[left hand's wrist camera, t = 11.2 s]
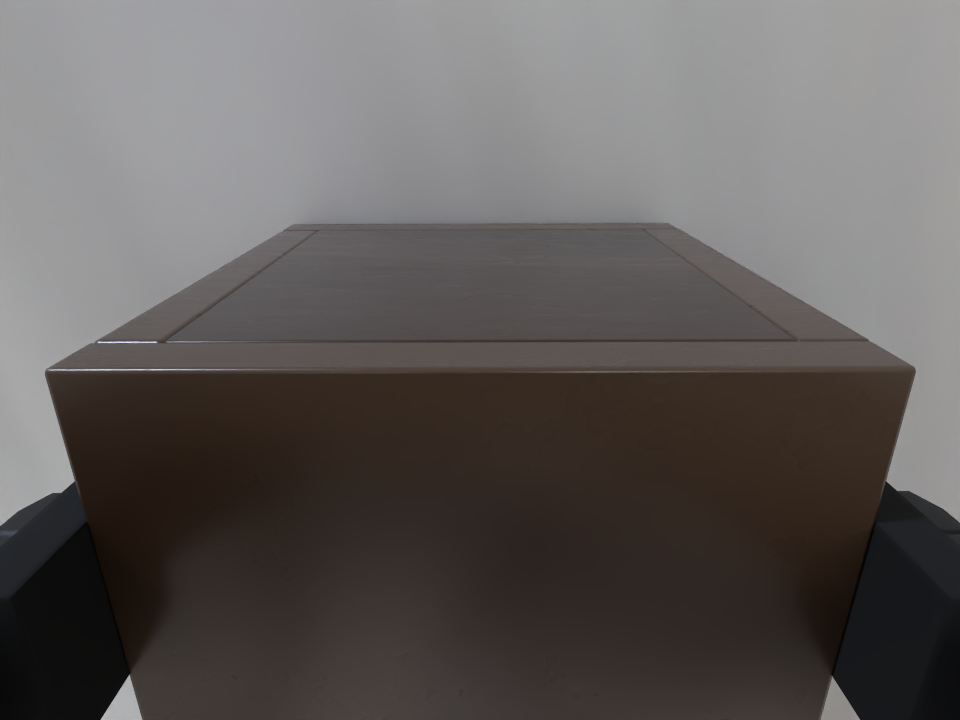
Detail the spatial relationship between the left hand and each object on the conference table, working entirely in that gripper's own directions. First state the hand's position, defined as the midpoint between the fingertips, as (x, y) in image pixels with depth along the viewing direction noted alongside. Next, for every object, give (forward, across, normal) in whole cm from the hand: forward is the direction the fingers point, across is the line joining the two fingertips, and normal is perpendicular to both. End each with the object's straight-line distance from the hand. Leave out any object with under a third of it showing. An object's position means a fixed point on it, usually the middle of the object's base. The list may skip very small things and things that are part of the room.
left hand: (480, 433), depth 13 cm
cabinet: (+5, 0, -6) cm, 8 cm away
